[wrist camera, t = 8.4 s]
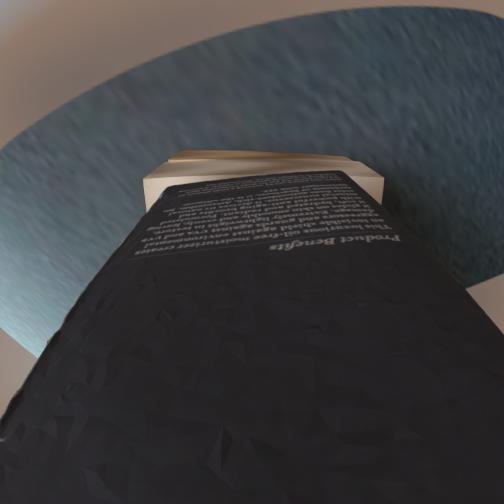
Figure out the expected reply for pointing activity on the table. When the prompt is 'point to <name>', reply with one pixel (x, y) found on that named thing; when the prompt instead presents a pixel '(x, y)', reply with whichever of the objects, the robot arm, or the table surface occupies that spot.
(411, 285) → the small box
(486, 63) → the table surface
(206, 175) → the ash slab
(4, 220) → the table surface
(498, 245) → the table surface
